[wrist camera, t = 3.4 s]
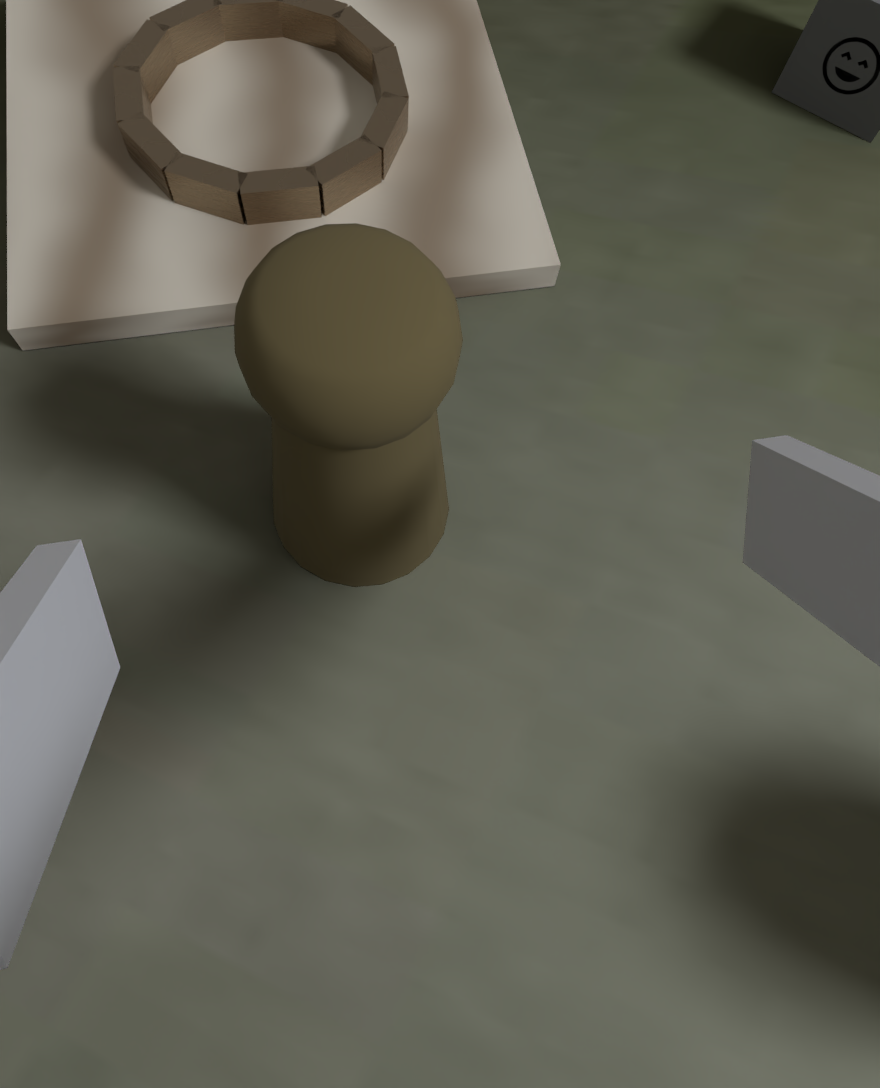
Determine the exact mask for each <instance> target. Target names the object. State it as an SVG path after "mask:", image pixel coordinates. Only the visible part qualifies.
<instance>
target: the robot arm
mask: <svg viewBox="0 0 880 1088" xmlns="http://www.w3.org/2000/svg"><path fill="white" fill-rule="evenodd" d="M743 563H744V564H745V565H747V566H748V567H749V568H751V569H752V570H753V571H755V572H756V573H757V574H759V575H760V576H761V577H762V578H764V579H765V580H766V581H768V582H769V583H770V584H772V585H773V586H774V587H776V588H777V589H778V590H780V591H781V592H782V593H784V594H785V595H786V596H787V597H789V598H790V599H791V600H793V601H794V602H795V603H797V604H798V605H799V606H801V607H802V608H803V609H805V610H806V611H807V612H809V613H810V614H811V615H812V616H814V617H815V618H816V619H818V620H819V621H820V622H822V623H823V624H824V625H826V626H827V627H828V628H830V629H831V630H832V631H834V632H835V633H836V634H837V635H839V636H840V637H841V638H843V639H844V640H845V641H847V642H848V643H849V644H851V645H852V646H853V647H855V648H856V649H857V650H859V651H860V652H861V653H862V654H864V655H865V656H866V657H868V658H869V659H870V660H872V661H873V662H874V663H876V664H877V665H878V666H880V476H879V475H877V474H874V473H872V472H870V471H868V470H865V469H863V468H861V467H858V466H856V465H854V464H852V463H849V462H847V461H845V460H842V459H840V458H838V457H836V456H833V455H831V454H829V453H826V452H824V451H822V450H820V449H817V448H815V447H813V446H810V445H808V444H806V443H804V442H801V441H799V440H797V439H794V438H792V437H790V436H788V435H785V436H778V437H772V438H765V439H758V440H752V449H751V462H750V475H749V487H748V500H747V513H746V526H745V538H744V551H743ZM119 670H120V665H119V661H118V658H117V655H116V652H115V648H114V645H113V642H112V639H111V635H110V632H109V629H108V626H107V622H106V619H105V616H104V613H103V609H102V606H101V603H100V600H99V596H98V593H97V590H96V587H95V583H94V580H93V577H92V574H91V570H90V567H89V564H88V561H87V557H86V554H85V551H84V548H83V544H82V541H81V539H78V540H72V541H65V542H58V543H51V544H44V545H38V546H36V547H35V548H34V550H33V551H32V552H31V554H30V555H29V556H28V558H27V559H26V560H25V561H24V563H23V564H22V565H21V567H20V568H19V569H18V571H17V572H16V573H15V574H14V576H13V577H12V578H11V580H10V581H9V582H8V583H7V585H6V586H5V587H4V589H3V590H2V591H1V593H0V970H1V969H5V968H8V965H9V962H10V960H11V957H12V954H13V952H14V949H15V946H16V944H17V941H18V938H19V936H20V933H21V930H22V928H23V925H24V922H25V920H26V917H27V914H28V912H29V909H30V906H31V904H32V901H33V898H34V896H35V893H36V890H37V888H38V885H39V883H40V880H41V877H42V875H43V872H44V869H45V867H46V864H47V861H48V859H49V856H50V853H51V851H52V848H53V845H54V843H55V840H56V837H57V835H58V832H59V829H60V827H61V824H62V821H63V819H64V816H65V813H66V811H67V808H68V805H69V803H70V800H71V797H72V795H73V792H74V789H75V787H76V784H77V781H78V779H79V776H80V773H81V771H82V768H83V765H84V763H85V760H86V757H87V755H88V752H89V749H90V747H91V744H92V741H93V739H94V736H95V734H96V731H97V728H98V726H99V723H100V720H101V718H102V715H103V712H104V710H105V707H106V704H107V702H108V699H109V696H110V694H111V691H112V688H113V686H114V683H115V680H116V678H117V675H118V672H119Z"/></svg>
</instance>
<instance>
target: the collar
mask: <svg viewBox="0 0 880 1088" xmlns="http://www.w3.org/2000/svg"><path fill="white" fill-rule="evenodd" d="M149 19H150V20H146V21H145V22H144V24H143V25H142V26H141V28H140V29H139V31H138V32H137V33H136V35H135V36H134V37H133V39H132V40H131V41H130V43H129V44H128V46H127V47H126V48H125V50H124V51H123V52H122V54H121V55H120V56H119V58H118V59H117V61H116V62H115V63H114V67H113V82H114V96H115V110H116V121H117V124H118V127H119V129H120V132H121V135H122V137H123V140H124V143H125V145H126V148H127V151H128V153H129V155H130V158H131V159H132V160H133V161H134V162H135V163H136V164H137V165H138V166H139V167H140V168H141V169H142V170H143V171H144V172H145V173H146V174H147V175H148V177H149V178H150V179H151V180H152V181H153V182H154V183H155V184H156V185H157V186H158V187H159V188H160V189H161V190H162V191H163V192H164V193H165V194H166V195H167V197H168V198H169V199H170V200H171V201H173V200H174V202H175V203H176V204H180V205H183V206H186V207H189V208H192V209H195V210H198V211H202V212H205V213H208V214H211V215H214V216H217V217H221V218H224V219H227V220H230V221H233V222H236V223H240V224H243V225H244V224H245V222H246V220H247V225H254V224H264V223H274V222H283V221H293V220H302V219H312V218H321V217H322V215H321V213H322V214H323V215H324V216H327V215H328V214H330V213H332V212H333V211H335V210H337V209H338V208H340V207H342V206H343V205H345V204H347V203H348V202H350V201H352V200H353V199H355V198H357V197H358V196H360V195H362V194H363V193H365V192H367V191H368V190H370V189H372V188H373V187H375V186H377V185H378V184H380V183H382V180H384V179H385V177H386V175H387V173H388V171H389V169H390V167H391V164H392V162H393V160H394V158H395V156H396V154H397V152H398V150H399V148H400V146H401V144H402V142H403V140H404V138H405V136H406V134H407V132H408V106H409V95H408V91H407V87H406V83H405V79H404V75H403V71H402V67H401V64H400V60H399V56H398V52H397V48H396V46H394V43H393V42H392V41H391V40H390V39H389V38H387V37H386V36H385V35H384V34H383V33H382V32H380V31H379V30H378V29H377V28H376V27H375V26H374V25H372V24H371V23H370V22H369V21H368V20H367V19H365V18H364V17H363V16H362V15H361V14H360V13H359V12H357V11H356V10H355V9H354V8H353V7H352V6H351V5H350V6H348V4H346V3H343V2H340V1H336V0H185V1H183V2H181V3H179V4H177V5H175V6H172V7H170V8H168V9H166V10H164V11H162V12H160V13H157V14H155V15H153V16H151V17H149ZM279 37H284V38H288V39H291V40H294V41H298V42H301V43H304V44H307V45H311V46H314V47H317V48H321V49H324V50H327V51H331V52H334V53H337V54H338V55H339V56H340V57H341V58H342V59H343V60H345V61H346V62H347V63H348V64H349V65H350V66H351V67H352V68H353V69H355V70H356V71H357V72H358V73H359V74H360V75H361V76H362V77H363V78H365V79H366V80H367V81H368V82H369V83H370V84H371V85H372V86H373V89H374V93H375V98H376V102H377V106H376V108H375V110H374V112H373V114H372V116H371V117H370V119H369V121H368V123H367V125H366V127H365V129H364V131H363V133H362V135H361V137H359V138H357V139H356V140H354V141H352V142H350V143H349V144H347V145H345V146H343V147H342V148H340V149H338V150H336V151H335V152H333V153H331V154H329V155H328V156H326V157H324V158H322V159H321V160H319V161H317V162H315V163H314V164H312V165H310V166H304V167H294V168H283V169H273V170H262V171H252V172H240V171H237V170H234V169H231V168H227V167H224V166H221V165H218V164H215V163H211V162H208V161H205V160H202V159H199V158H195V157H192V156H189V155H186V154H183V153H181V152H180V151H179V150H178V149H177V148H176V147H175V146H174V145H173V144H172V143H171V142H170V141H169V140H168V139H167V138H166V137H165V136H164V135H163V134H162V133H161V132H160V131H159V130H158V129H157V128H156V127H155V126H154V125H153V121H152V111H151V103H152V102H153V100H154V99H155V97H156V96H157V95H158V93H159V92H160V90H161V89H162V87H163V86H164V84H165V83H166V81H167V80H168V78H169V77H170V76H171V74H172V73H173V71H174V70H175V68H176V67H177V65H179V64H181V63H183V62H185V61H187V60H189V59H191V58H193V57H195V56H197V55H199V54H201V53H203V52H205V51H207V50H210V49H212V48H214V47H216V46H218V45H220V44H222V43H224V42H226V41H238V40H252V39H266V38H279Z"/></svg>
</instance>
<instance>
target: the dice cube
mask: <svg viewBox="0 0 880 1088" xmlns="http://www.w3.org/2000/svg"><path fill="white" fill-rule="evenodd" d="M772 93H774V94H776V95H778V96H780V97H782V98H784V99H786V100H788V101H789V102H791V103H793V104H795V105H797V106H799V107H801V108H803V109H805V110H807V111H809V112H811V113H813V114H815V115H817V116H819V117H821V118H823V119H825V120H827V121H829V122H831V123H833V124H835V125H837V126H839V127H841V128H842V129H844V130H846V131H848V132H850V133H852V134H854V135H856V136H858V137H860V138H862V139H864V140H866V141H868V142H870V143H871V141H872V140H873V139H874V137H875V136H876V134H877V133H878V131H879V130H880V0H819V1H818V3H817V5H816V7H815V9H814V11H813V13H812V14H811V16H810V18H809V20H808V22H807V24H806V26H805V28H804V30H803V32H802V34H801V36H800V38H799V40H798V42H797V44H796V46H795V48H794V50H793V52H792V53H791V55H790V57H789V59H788V61H787V63H786V65H785V67H784V69H783V71H782V73H781V75H780V77H779V79H778V81H777V83H776V85H775V87H774V89H773V91H772Z"/></svg>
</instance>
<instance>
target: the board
mask: <svg viewBox="0 0 880 1088" xmlns="http://www.w3.org/2000/svg"><path fill="white" fill-rule="evenodd" d="M183 1H185V0H6V72H7V330H8V331H9V333H10V334H11V335H12V337H13V338H14V339H15V341H16V342H17V344H18V345H19V346H20V348H21V349H22V350H23V351H24V350H32V349H40V348H48V347H57V346H65V345H73V344H81V343H89V342H98V341H106V340H114V339H122V338H131V337H139V336H147V335H155V334H163V333H172V332H180V331H188V330H196V329H205V328H213V327H221V326H229V325H234V320H235V309H236V305H237V302H238V300H239V297H240V294H241V292H242V289H243V286H244V284H245V281H246V279H247V278H248V276H249V275H250V274H251V272H252V271H253V270H254V269H255V267H256V266H257V265H258V264H259V263H260V262H261V260H262V259H263V258H264V257H265V256H266V255H267V253H268V252H269V251H270V250H271V249H272V248H273V247H275V246H276V245H278V244H279V243H281V242H283V241H284V240H286V239H287V238H289V237H291V236H292V235H294V234H296V233H298V232H301V231H305V230H308V229H311V228H315V227H318V226H322V225H325V224H349V223H357V224H362V225H367V226H371V227H376V228H381V229H386V230H388V231H390V232H392V233H394V234H396V235H398V236H400V237H402V238H404V239H406V240H408V241H410V242H412V243H413V244H414V245H415V246H416V247H417V248H418V249H419V250H420V251H421V252H422V253H423V254H425V255H426V256H427V257H428V258H429V259H430V260H431V261H432V262H433V263H434V264H435V265H436V266H437V267H438V268H439V269H440V270H441V272H442V274H443V276H444V277H445V279H446V281H447V283H448V285H449V286H450V288H451V290H452V292H453V294H454V295H455V298H459V297H468V296H476V295H484V294H492V293H500V292H509V291H517V290H525V289H533V288H542V287H550V286H554V285H555V282H556V278H557V275H558V272H559V269H560V265H561V264H560V261H559V258H558V255H557V251H556V248H555V245H554V242H553V239H552V236H551V233H550V230H549V226H548V223H547V220H546V217H545V214H544V211H543V208H542V204H541V201H540V198H539V195H538V192H537V189H536V186H535V183H534V179H533V176H532V173H531V170H530V167H529V164H528V161H527V157H526V154H525V151H524V148H523V145H522V142H521V139H520V135H519V132H518V129H517V126H516V123H515V120H514V117H513V114H512V110H511V107H510V104H509V101H508V98H507V95H506V92H505V88H504V85H503V82H502V79H501V76H500V73H499V70H498V67H497V63H496V60H495V57H494V54H493V51H492V48H491V45H490V41H489V38H488V35H487V32H486V29H485V26H484V23H483V19H482V16H481V13H480V10H479V7H478V4H477V1H476V0H336V1H340V2H343V3H346V4H348V6H350V5H351V6H352V7H353V8H354V9H355V10H356V11H357V12H359V13H360V14H361V15H362V16H363V17H364V18H365V19H367V20H368V21H369V22H370V23H371V24H372V25H374V26H375V27H376V28H377V29H378V30H379V31H380V32H382V33H383V34H384V35H385V36H386V37H387V38H389V39H390V40H391V41H392V42H393V43H394V46H396V48H397V52H398V56H399V60H400V64H401V67H402V71H403V75H404V79H405V83H406V87H407V91H408V95H409V106H408V132H407V134H406V136H405V138H404V140H403V142H402V144H401V146H400V148H399V150H398V152H397V154H396V156H395V158H394V160H393V162H392V164H391V167H390V169H389V171H388V173H387V175H386V177H385V179H384V180H382V183H380V184H378V185H377V186H375V187H373V188H372V189H370V190H368V191H367V192H365V193H363V194H362V195H360V196H358V197H357V198H355V199H353V200H352V201H350V202H348V203H347V204H345V205H343V206H342V207H340V208H338V209H337V210H335V211H333V212H332V213H330V214H328V215H327V216H324V215H323V214H322V213H321V215H322V217H321V218H312V219H302V220H293V221H283V222H274V223H264V224H254V225H247V220H246V222H245V224H244V225H243V224H240V223H236V222H233V221H230V220H227V219H224V218H221V217H217V216H214V215H211V214H208V213H205V212H202V211H198V210H195V209H192V208H189V207H186V206H183V205H180V204H176V203H175V202H174V200H173V201H171V200H170V199H169V198H168V197H167V195H166V194H165V193H164V192H163V191H162V190H161V189H160V188H159V187H158V186H157V185H156V184H155V183H154V182H153V181H152V180H151V179H150V178H149V177H148V175H147V174H146V173H145V172H144V171H143V170H142V169H141V168H140V167H139V166H138V165H137V164H136V163H135V162H134V161H133V160H132V159H131V158H130V155H129V153H128V151H127V148H126V145H125V143H124V140H123V137H122V135H121V132H120V129H119V127H118V124H117V121H116V110H115V96H114V82H113V67H114V63H115V62H116V61H117V59H118V58H119V56H120V55H121V54H122V52H123V51H124V50H125V48H126V47H127V46H128V44H129V43H130V41H131V40H132V39H133V37H134V36H135V35H136V33H137V32H138V31H139V29H140V28H141V26H142V25H143V24H144V22H145V21H146V20H150V19H149V17H151V16H153V15H155V14H157V13H160V12H162V11H164V10H166V9H168V8H170V7H172V6H175V5H177V4H179V3H181V2H183ZM376 106H377V102H376V98H375V93H374V89H373V86H372V85H371V84H370V83H369V82H368V81H367V80H366V79H365V78H363V77H362V76H361V75H360V74H359V73H358V72H357V71H356V70H355V69H353V68H352V67H351V66H350V65H349V64H348V63H347V62H346V61H345V60H343V59H342V58H341V57H340V56H339V55H338V54H337V53H334V52H331V51H327V50H324V49H321V48H317V47H314V46H311V45H307V44H304V43H301V42H298V41H294V40H291V39H288V38H284V37H279V38H266V39H252V40H238V41H226V42H224V43H222V44H220V45H218V46H216V47H214V48H212V49H210V50H207V51H205V52H203V53H201V54H199V55H197V56H195V57H193V58H191V59H189V60H187V61H185V62H183V63H181V64H179V65H177V67H176V68H175V70H174V71H173V73H172V74H171V76H170V77H169V78H168V80H167V81H166V83H165V84H164V86H163V87H162V89H161V90H160V92H159V93H158V95H157V96H156V97H155V99H154V100H153V102H152V103H151V111H152V121H153V125H154V126H155V127H156V128H157V129H158V130H159V131H160V132H161V133H162V134H163V135H164V136H165V137H166V138H167V139H168V140H169V141H170V142H171V143H172V144H173V145H174V146H175V147H176V148H177V149H178V150H179V151H180V152H181V153H183V154H186V155H189V156H192V157H195V158H199V159H202V160H205V161H208V162H211V163H215V164H218V165H221V166H224V167H227V168H231V169H234V170H237V171H240V172H252V171H262V170H273V169H283V168H294V167H304V166H310V165H312V164H314V163H315V162H317V161H319V160H321V159H322V158H324V157H326V156H328V155H329V154H331V153H333V152H335V151H336V150H338V149H340V148H342V147H343V146H345V145H347V144H349V143H350V142H352V141H354V140H356V139H357V138H359V137H361V135H362V133H363V131H364V129H365V127H366V125H367V123H368V121H369V119H370V117H371V116H372V114H373V112H374V110H375V108H376Z"/></svg>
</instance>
